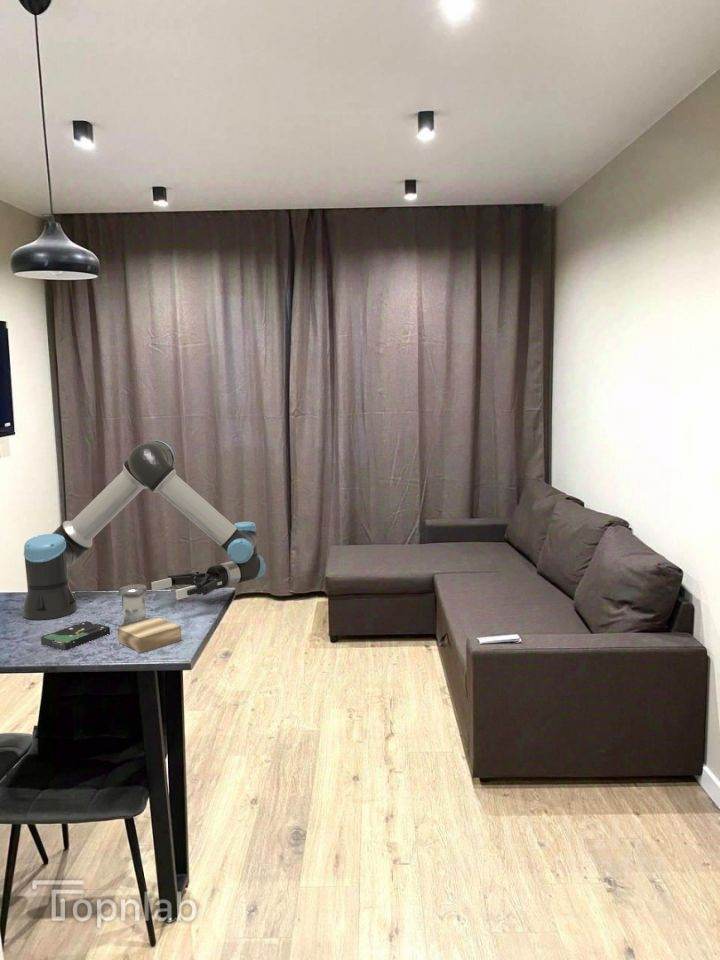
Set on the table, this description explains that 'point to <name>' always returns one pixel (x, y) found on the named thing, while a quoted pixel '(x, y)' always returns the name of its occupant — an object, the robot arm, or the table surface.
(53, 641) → the disk drive
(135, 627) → the stand
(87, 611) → the table surface
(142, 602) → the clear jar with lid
